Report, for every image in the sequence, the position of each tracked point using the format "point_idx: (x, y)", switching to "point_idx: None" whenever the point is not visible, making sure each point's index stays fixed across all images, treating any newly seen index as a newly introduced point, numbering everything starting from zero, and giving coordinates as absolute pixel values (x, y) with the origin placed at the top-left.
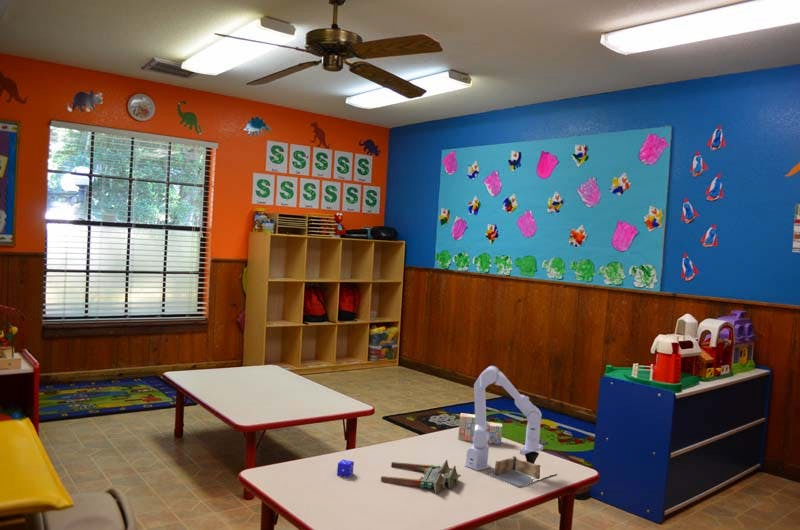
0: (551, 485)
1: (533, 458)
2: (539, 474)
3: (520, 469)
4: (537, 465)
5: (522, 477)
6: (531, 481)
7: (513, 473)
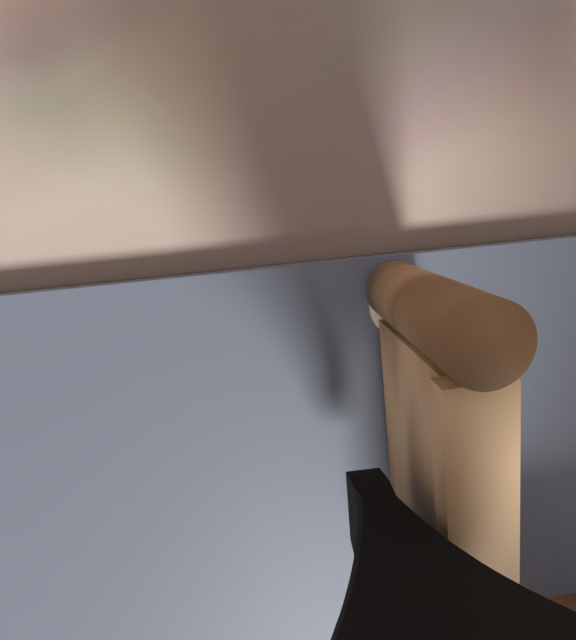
0: (372, 25)
1: (536, 602)
2: (416, 268)
3: None
4: (517, 358)
5: (548, 406)
6: (572, 249)
7: (525, 543)
